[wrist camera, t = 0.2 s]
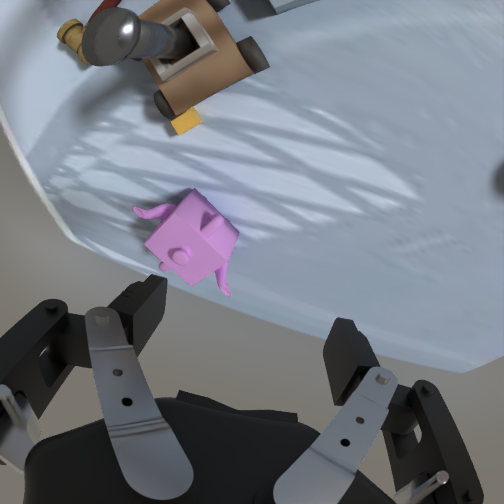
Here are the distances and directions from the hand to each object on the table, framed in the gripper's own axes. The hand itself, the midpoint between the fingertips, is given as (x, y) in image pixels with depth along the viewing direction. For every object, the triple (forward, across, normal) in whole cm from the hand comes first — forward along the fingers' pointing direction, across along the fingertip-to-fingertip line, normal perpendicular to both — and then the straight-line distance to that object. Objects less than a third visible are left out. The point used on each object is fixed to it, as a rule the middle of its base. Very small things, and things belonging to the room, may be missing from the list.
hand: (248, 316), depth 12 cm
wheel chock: (+29, +14, -11) cm, 34 cm away
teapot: (+35, +10, +5) cm, 37 cm away
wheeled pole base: (+26, +14, -22) cm, 36 cm away
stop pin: (+20, +14, -20) cm, 32 cm away
